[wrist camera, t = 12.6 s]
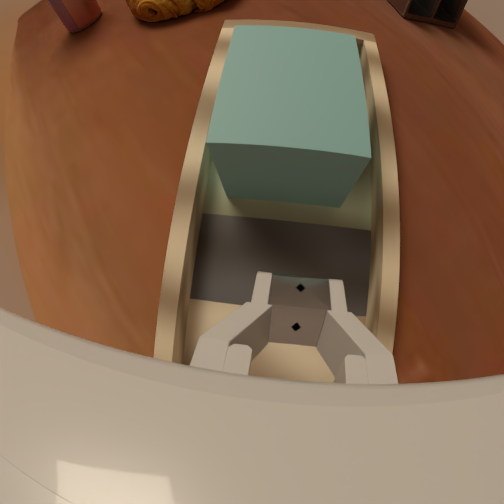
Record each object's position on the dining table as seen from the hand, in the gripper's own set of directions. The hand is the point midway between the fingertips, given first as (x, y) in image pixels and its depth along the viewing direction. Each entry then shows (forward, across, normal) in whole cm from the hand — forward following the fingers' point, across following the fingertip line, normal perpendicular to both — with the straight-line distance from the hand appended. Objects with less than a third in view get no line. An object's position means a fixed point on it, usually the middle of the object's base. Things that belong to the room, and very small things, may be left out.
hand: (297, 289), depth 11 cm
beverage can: (+32, +32, -19) cm, 49 cm away
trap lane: (+11, 0, +3) cm, 11 cm away
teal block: (+15, +1, -2) cm, 15 cm away
